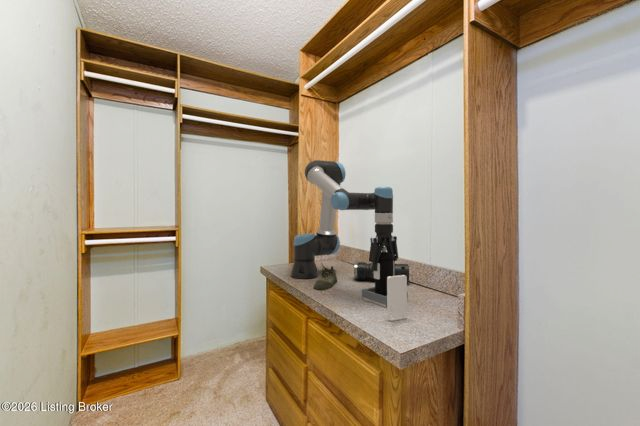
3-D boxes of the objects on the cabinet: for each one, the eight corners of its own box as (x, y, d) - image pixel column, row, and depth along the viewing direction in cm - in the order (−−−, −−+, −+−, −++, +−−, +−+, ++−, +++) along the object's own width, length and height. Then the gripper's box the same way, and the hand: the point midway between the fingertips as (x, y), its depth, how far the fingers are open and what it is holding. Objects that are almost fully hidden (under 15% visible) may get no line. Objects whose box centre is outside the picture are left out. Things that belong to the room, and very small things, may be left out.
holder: (361, 299, 121) (361, 289, 121) (383, 293, 129) (383, 284, 129) (385, 307, 110) (385, 297, 110) (407, 301, 118) (407, 291, 118)
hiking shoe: (311, 291, 134) (311, 266, 134) (326, 281, 152) (326, 259, 152) (328, 293, 131) (328, 267, 131) (341, 283, 149) (341, 260, 149)
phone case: (404, 316, 100) (404, 274, 100) (407, 318, 99) (406, 275, 99) (387, 319, 98) (386, 276, 98) (389, 321, 96) (389, 277, 96)
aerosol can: (390, 298, 114) (390, 248, 114) (371, 295, 118) (371, 247, 118) (396, 293, 121) (396, 246, 121) (378, 290, 125) (378, 245, 125)
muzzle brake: (409, 285, 143) (409, 265, 143) (353, 283, 148) (353, 263, 148) (407, 281, 152) (407, 262, 152) (355, 279, 158) (355, 260, 158)
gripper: (372, 224, 110) (372, 282, 110) (407, 223, 122) (407, 275, 122) (359, 224, 117) (359, 278, 117) (393, 222, 128) (393, 272, 129)
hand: (384, 277), depth 120 cm, fingers closed on aerosol can, 8 cm apart
